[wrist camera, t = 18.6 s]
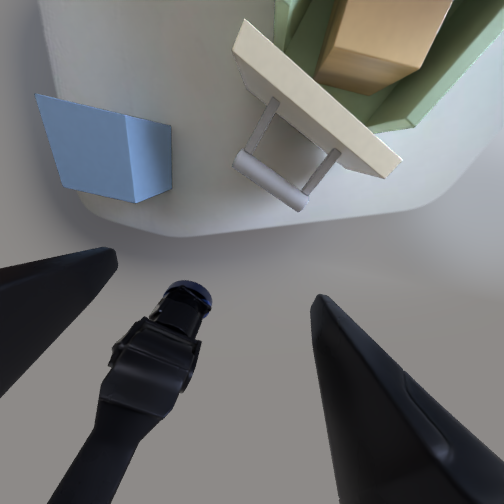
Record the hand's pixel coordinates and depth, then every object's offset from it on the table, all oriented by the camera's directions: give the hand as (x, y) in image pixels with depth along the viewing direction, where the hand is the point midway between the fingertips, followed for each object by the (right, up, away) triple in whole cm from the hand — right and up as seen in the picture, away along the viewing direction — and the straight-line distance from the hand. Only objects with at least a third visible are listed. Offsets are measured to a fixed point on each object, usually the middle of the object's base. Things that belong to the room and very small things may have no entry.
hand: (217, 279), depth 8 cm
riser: (-9, +11, +10) cm, 17 cm away
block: (+8, +14, +4) cm, 17 cm away
